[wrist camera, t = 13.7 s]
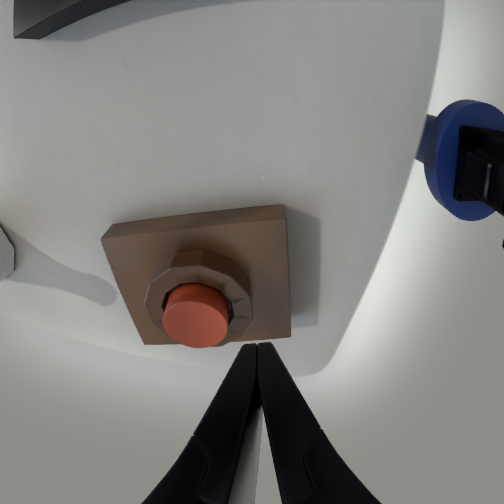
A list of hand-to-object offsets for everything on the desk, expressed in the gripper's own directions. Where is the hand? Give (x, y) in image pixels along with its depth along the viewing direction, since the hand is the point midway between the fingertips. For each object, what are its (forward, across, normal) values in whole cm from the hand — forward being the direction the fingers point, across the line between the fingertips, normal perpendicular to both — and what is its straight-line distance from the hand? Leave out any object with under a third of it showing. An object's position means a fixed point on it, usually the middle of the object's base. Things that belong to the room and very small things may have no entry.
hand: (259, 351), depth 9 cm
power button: (+9, +4, +5) cm, 11 cm away
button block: (+12, +4, +5) cm, 14 cm away
